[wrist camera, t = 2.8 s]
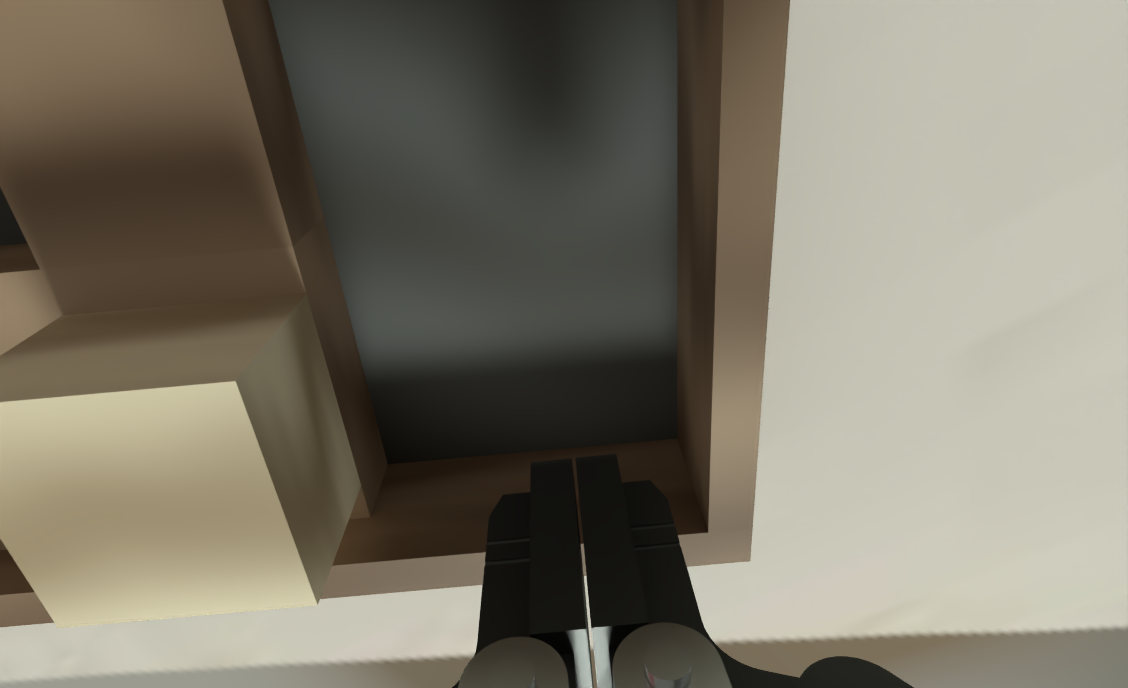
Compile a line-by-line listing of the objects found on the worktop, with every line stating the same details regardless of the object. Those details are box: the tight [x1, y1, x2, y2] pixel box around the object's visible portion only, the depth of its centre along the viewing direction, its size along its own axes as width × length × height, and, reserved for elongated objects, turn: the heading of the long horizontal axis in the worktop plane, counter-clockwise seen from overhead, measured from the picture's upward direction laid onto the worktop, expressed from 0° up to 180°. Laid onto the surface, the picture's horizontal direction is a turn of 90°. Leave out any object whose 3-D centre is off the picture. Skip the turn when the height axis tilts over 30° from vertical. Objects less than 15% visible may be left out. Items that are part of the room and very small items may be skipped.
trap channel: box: [0, 0, 790, 627], centre depth 14 cm, size 14×26×4 cm, turn 95°
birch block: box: [0, 294, 361, 628], centre depth 13 cm, size 5×5×4 cm
